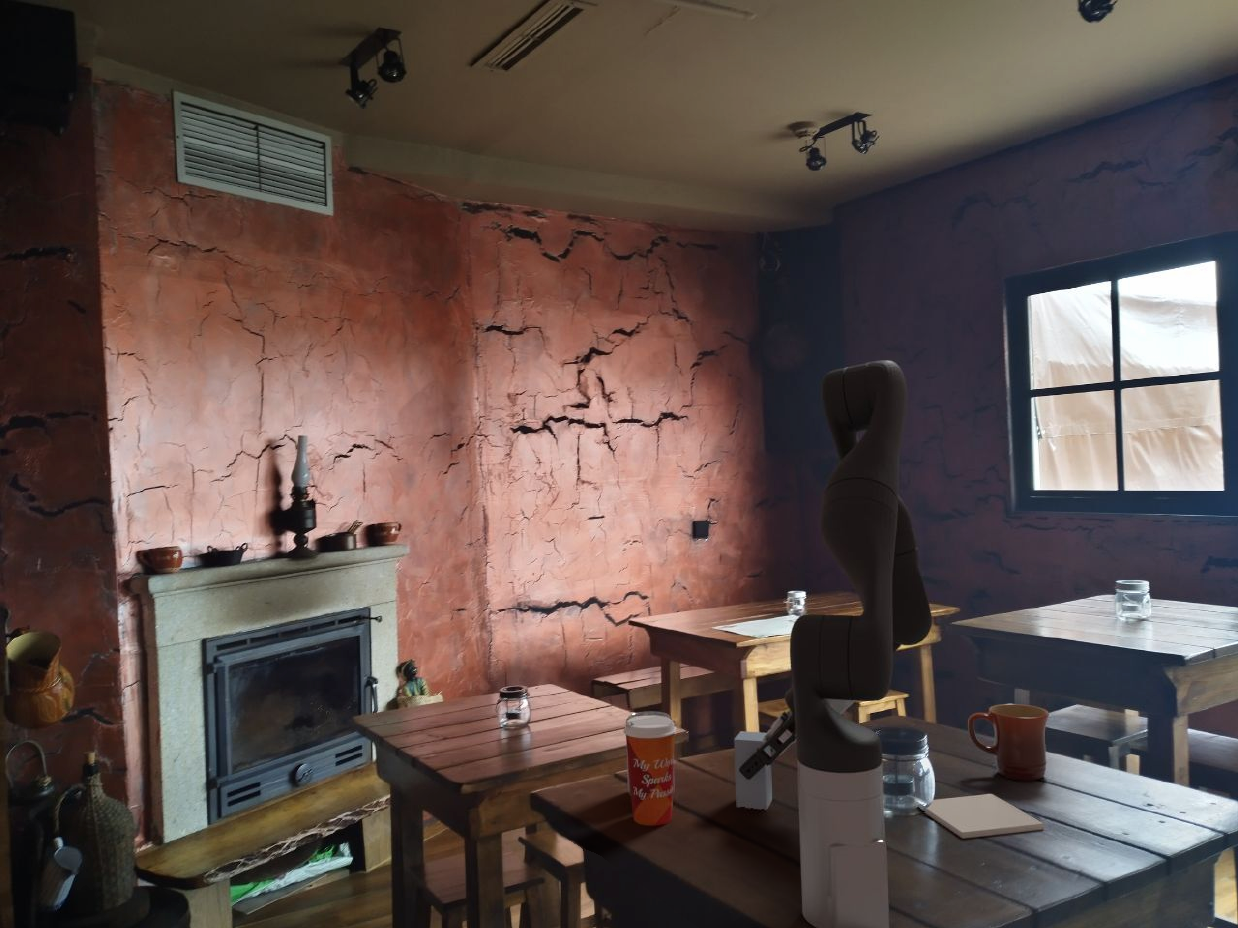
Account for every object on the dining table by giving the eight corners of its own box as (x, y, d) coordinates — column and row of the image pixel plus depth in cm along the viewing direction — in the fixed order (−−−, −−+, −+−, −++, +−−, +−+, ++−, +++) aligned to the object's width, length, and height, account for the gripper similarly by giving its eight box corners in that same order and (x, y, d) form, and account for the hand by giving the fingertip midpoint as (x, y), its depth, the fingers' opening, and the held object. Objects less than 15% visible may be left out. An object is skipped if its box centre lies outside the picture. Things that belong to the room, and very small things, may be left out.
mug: (1046, 768, 149) (1044, 704, 149) (1055, 786, 141) (1053, 719, 141) (967, 763, 152) (965, 701, 153) (971, 781, 144) (969, 715, 144)
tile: (1043, 829, 124) (1043, 823, 124) (962, 838, 122) (962, 832, 122) (991, 799, 136) (991, 793, 136) (917, 806, 134) (916, 801, 134)
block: (766, 809, 135) (764, 741, 135) (736, 807, 136) (734, 739, 136) (772, 799, 139) (769, 732, 139) (742, 796, 140) (740, 731, 141)
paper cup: (635, 831, 128) (632, 730, 128) (619, 812, 135) (616, 717, 135) (688, 824, 130) (684, 724, 130) (669, 806, 137) (666, 712, 138)
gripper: (811, 663, 142) (741, 733, 146) (798, 684, 128) (720, 761, 132) (848, 699, 140) (775, 769, 144) (838, 725, 127) (758, 801, 130)
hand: (749, 765), depth 138 cm, fingers open, 8 cm apart
